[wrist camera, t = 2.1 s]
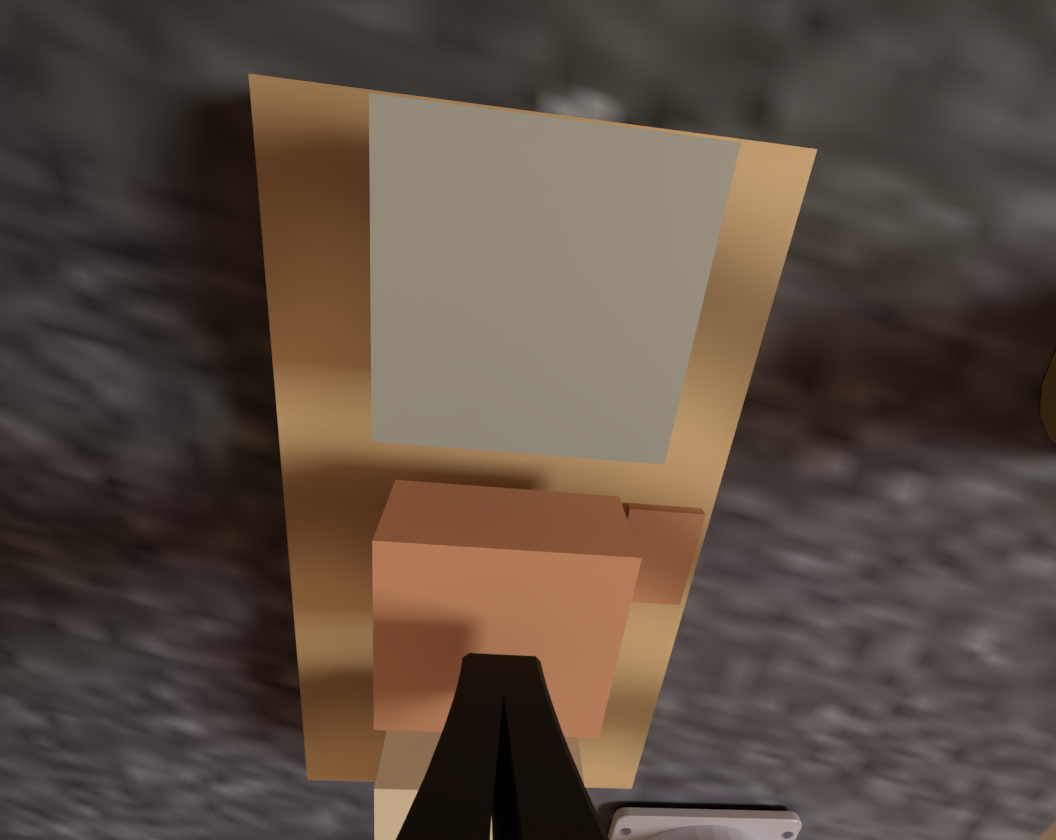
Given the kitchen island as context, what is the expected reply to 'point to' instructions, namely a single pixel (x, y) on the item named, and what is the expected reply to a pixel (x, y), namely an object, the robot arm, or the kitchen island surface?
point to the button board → (372, 467)
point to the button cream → (412, 777)
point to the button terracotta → (498, 596)
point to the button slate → (535, 278)
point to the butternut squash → (1049, 400)
